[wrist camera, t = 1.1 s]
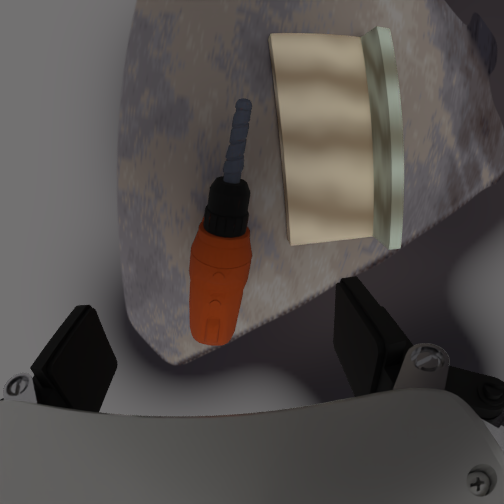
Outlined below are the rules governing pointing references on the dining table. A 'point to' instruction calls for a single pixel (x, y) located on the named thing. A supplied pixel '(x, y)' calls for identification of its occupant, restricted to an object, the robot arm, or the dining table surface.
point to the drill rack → (339, 136)
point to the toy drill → (222, 245)
